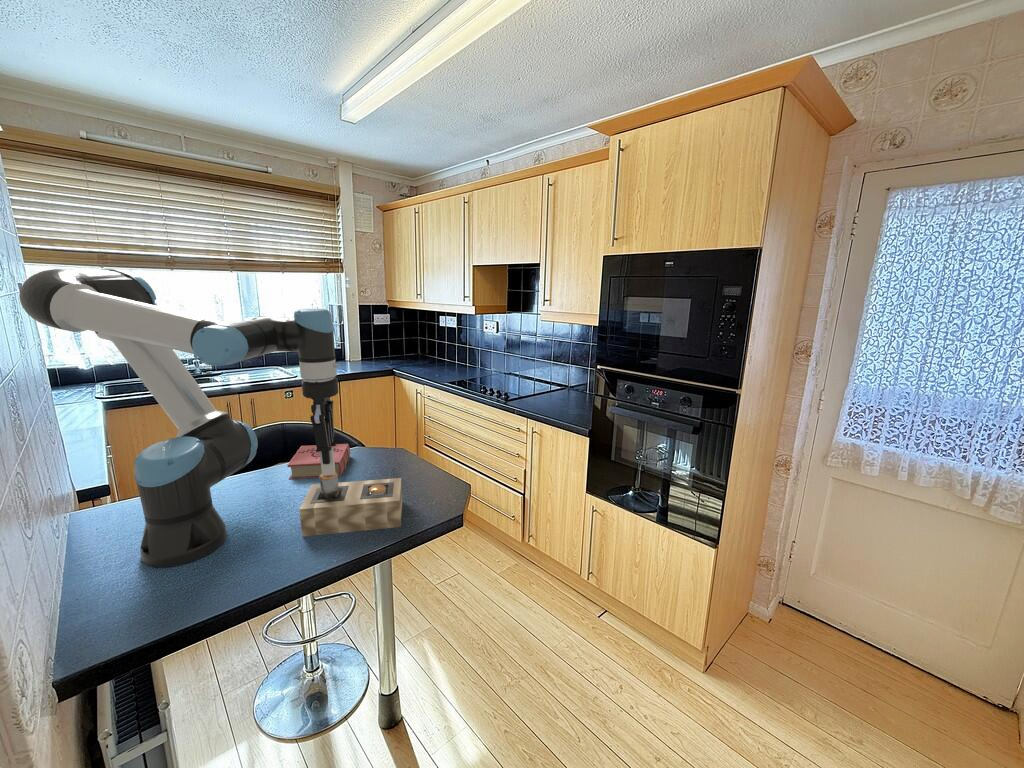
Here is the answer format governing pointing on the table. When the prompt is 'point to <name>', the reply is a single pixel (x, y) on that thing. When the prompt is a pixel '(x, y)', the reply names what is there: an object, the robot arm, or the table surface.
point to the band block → (352, 508)
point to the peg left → (329, 486)
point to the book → (317, 461)
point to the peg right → (377, 490)
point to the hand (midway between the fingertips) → (328, 474)
